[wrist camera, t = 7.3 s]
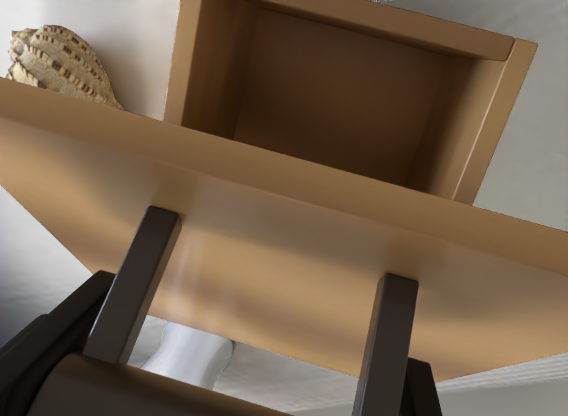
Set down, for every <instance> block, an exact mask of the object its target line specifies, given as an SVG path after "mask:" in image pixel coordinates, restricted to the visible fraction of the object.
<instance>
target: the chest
mask: <svg viewBox="0 0 568 416" xmlns="http://www.w3.org/2000/svg"><path fill="white" fill-rule="evenodd" d="M537 47H538V44H537V43H535V42H531V41H527V40H523V39H519V38H513V37H511V36H507V35H503V34H499V33H495V32H491V31H487V30H483V29H479V28H475V27H471V26H467V25H463V24H459V23H455V22H452V21H448V20H444V19H440V18H436V17H432V16H428V15H424V14H420V13H416V12H412V11H408V10H404V9H400V8H396V7H392V6H388V5H384V4H380V3H376V2H372V1H368V0H180V5H179V12H178V19H177V26H176V32H175V39H174V46H173V53H172V60H171V67H170V73H169V80H168V87H167V94H166V101H165V108H164V115H163V121H164V122H167V123H171V124H174V125H178V126H182V127H185V128H189V129H193V130H196V131H200V132H204V133H207V134H211V135H215V136H218V137H222V138H226V139H229V140H233V141H237V142H240V143H244V144H248V145H251V146H255V147H259V148H262V149H266V150H269V151H273V152H277V153H280V154H284V155H288V156H291V157H295V158H299V159H302V160H306V161H310V162H313V163H317V164H321V165H324V166H328V167H332V168H335V169H339V170H343V171H346V172H350V173H354V174H357V175H361V176H364V177H368V178H372V179H375V180H379V181H383V182H386V183H390V184H394V185H397V186H401V187H405V188H408V189H412V190H416V191H419V192H423V193H427V194H430V195H434V196H438V197H441V198H445V199H449V200H452V201H456V202H459V203H463V204H467V205H470V206H472V204H473V202H474V199H475V197H476V195H477V192H478V190H479V187H480V185H481V183H482V180H483V178H484V175H485V173H486V170H487V168H488V166H489V163H490V161H491V158H492V156H493V154H494V151H495V149H496V146H497V144H498V141H499V139H500V137H501V134H502V132H503V129H504V127H505V124H506V122H507V120H508V117H509V115H510V112H511V110H512V108H513V105H514V103H515V100H516V98H517V95H518V93H519V91H520V88H521V86H522V83H523V81H524V79H525V76H526V74H527V71H528V69H529V66H530V64H531V62H532V59H533V57H534V54H535V52H536V50H537Z"/></svg>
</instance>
